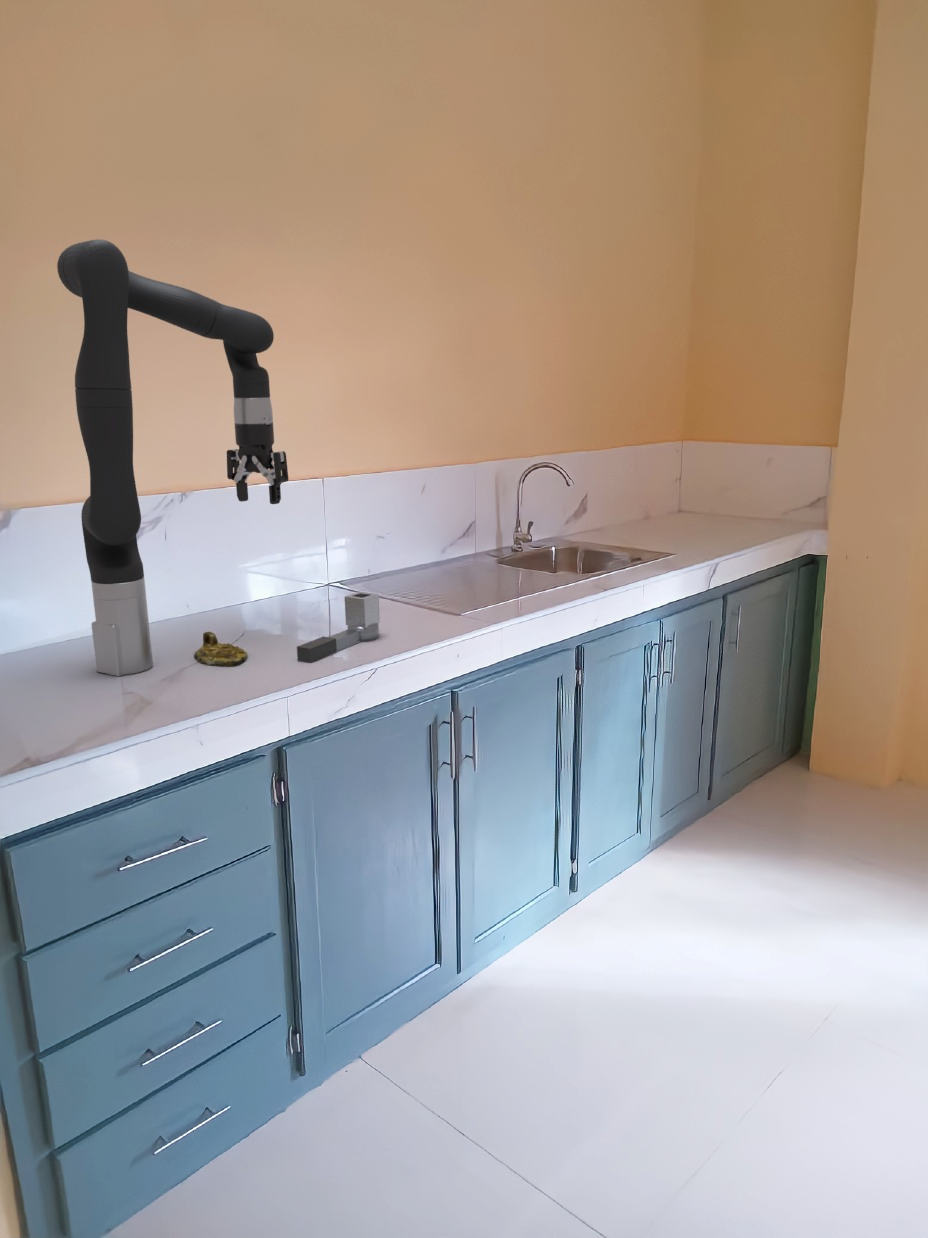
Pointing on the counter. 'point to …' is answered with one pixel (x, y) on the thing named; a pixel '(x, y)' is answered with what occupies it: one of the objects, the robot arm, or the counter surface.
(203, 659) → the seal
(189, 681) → the counter surface
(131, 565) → the robot arm
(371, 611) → the hollow square tube
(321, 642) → the ratchet
